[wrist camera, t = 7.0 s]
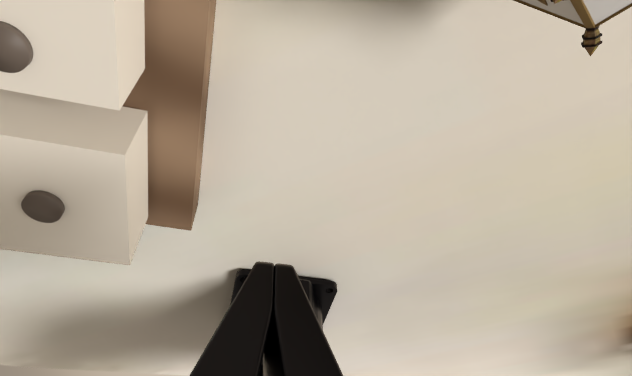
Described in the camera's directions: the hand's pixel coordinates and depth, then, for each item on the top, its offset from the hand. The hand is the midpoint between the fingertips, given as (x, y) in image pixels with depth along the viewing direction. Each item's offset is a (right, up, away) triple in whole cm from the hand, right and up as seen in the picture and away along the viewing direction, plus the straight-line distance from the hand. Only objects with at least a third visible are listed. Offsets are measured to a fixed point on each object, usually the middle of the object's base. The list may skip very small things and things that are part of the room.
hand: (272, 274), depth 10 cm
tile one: (-9, +3, +9) cm, 13 cm away
